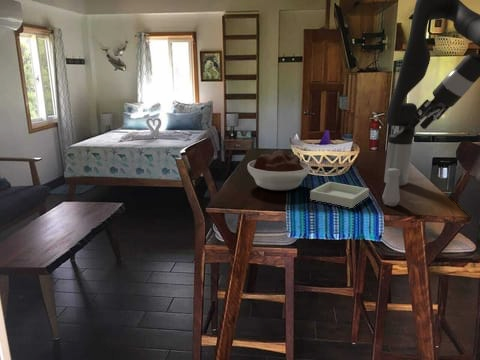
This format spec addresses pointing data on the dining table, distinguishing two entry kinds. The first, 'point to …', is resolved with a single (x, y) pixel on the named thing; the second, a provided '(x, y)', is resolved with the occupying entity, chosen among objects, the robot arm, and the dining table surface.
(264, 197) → the dining table surface
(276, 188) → the white bowl of pudding
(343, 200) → the tray
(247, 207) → the dining table surface
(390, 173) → the salt shaker
